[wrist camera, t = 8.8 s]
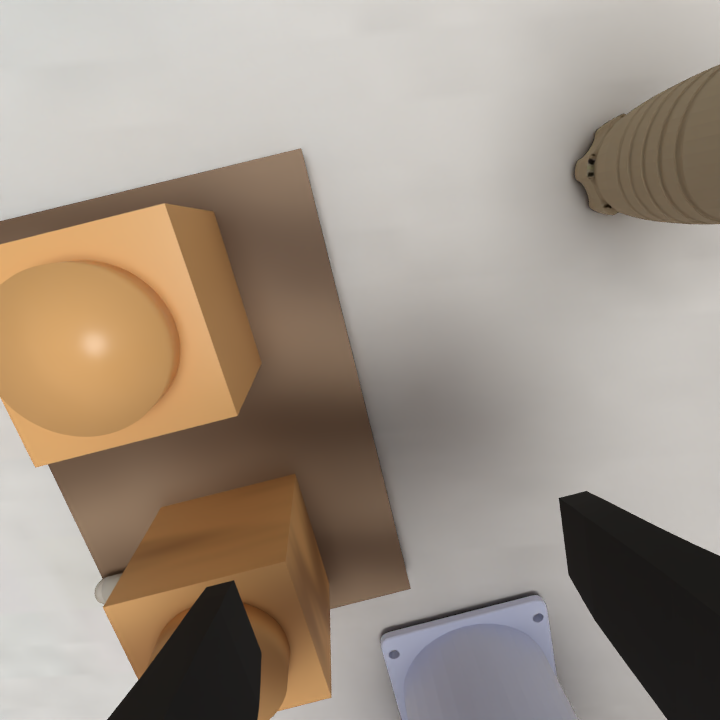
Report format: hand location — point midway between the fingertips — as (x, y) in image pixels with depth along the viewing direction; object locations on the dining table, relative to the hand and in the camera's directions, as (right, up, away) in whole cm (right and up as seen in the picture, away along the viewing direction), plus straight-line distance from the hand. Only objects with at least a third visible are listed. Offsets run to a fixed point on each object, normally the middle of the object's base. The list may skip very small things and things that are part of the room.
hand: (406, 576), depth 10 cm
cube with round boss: (-8, +6, +6) cm, 12 cm away
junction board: (-7, +2, +9) cm, 11 cm away
